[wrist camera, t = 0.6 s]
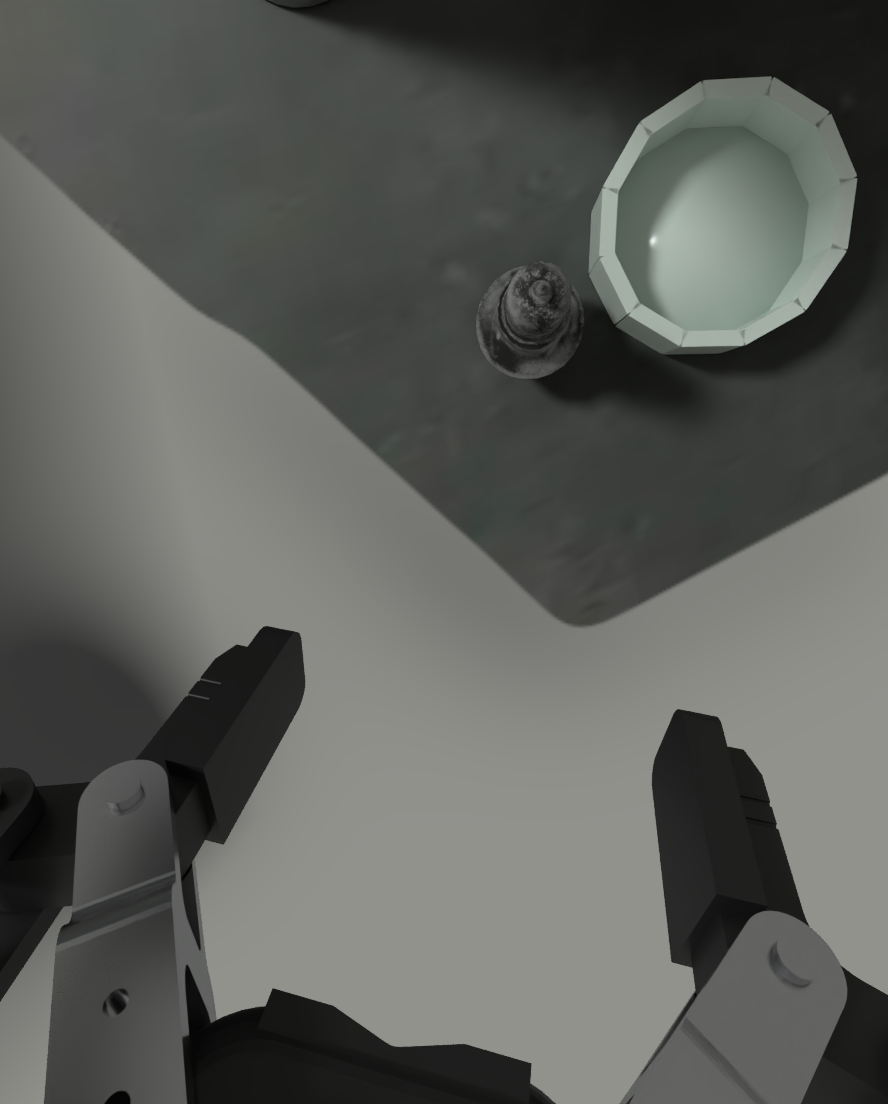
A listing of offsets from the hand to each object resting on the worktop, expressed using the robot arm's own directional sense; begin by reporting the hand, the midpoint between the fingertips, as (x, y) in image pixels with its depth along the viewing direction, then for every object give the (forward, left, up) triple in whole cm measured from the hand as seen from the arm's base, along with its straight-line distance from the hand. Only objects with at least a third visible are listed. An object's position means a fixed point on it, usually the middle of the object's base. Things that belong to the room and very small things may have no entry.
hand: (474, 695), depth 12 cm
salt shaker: (-8, +7, -26) cm, 28 cm away
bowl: (-8, +18, -26) cm, 32 cm away
